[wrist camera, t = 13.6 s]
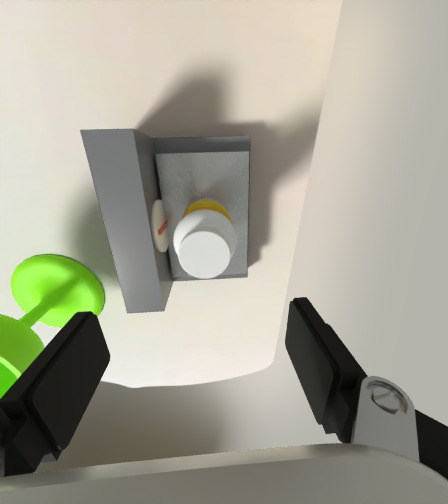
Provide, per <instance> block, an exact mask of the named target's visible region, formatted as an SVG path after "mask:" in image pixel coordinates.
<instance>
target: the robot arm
mask: <svg viewBox="0 0 448 504" xmlns="http://www.w3.org/2000/svg"><path fill="white" fill-rule="evenodd" d="M285 345H286V349H287V351H288V354H289V356H290V359H291V361H292V364H293V366H294V368H295V371H296V373H297V375H298V378H299V380H300V383H301V385H302V388H303V390H304V392H305V395H306V397H307V400H308V402H309V404H310V407H311V409H312V412H313V414H314V416H315V419H316V421H317V423H318V424H322V425H323V428H324V430H325V433H326V434H331V433H336V435H337V437H338V439H339V440H340V441H341V442H342V443H340V444H338V443H336V444H315V445H302V446H289V447H277V448H267V449H257V450H246V451H237V452H225V453H216V454H205V455H195V456H186V457H176V458H166V459H156V460H148V461H137V462H128V463H118V464H109V465H99V466H91V467H81V468H72V469H62V470H54V471H46V472H38V473H36V469H37V467H38V465H39V464H40V462H51V461H57V459H58V457H59V455H60V454H61V452H62V450H64V449H65V448H66V447H67V446H68V444H69V443H70V441H71V439H72V437H73V435H74V432H75V431H76V428H77V426H78V424H79V422H80V420H81V418H82V416H83V414H84V412H85V410H86V408H87V406H88V404H89V402H90V400H91V398H92V396H93V394H94V392H95V390H96V388H97V386H98V384H99V382H100V380H101V378H102V376H103V374H104V372H105V370H106V368H107V366H108V364H109V361H110V353H109V350H108V347H107V344H106V341H105V338H104V335H103V332H102V329H101V327H100V324H99V321H98V318H97V315H96V314H93V312H92V311H84V312H76V313H75V314H74V315H73V316H72V318H71V319H70V320H69V321H68V322H67V323H66V324H65V325H64V327H63V328H62V329H61V330H60V331H59V332H58V333H57V335H56V336H55V337H54V338H53V339H52V340H51V341H50V343H49V344H48V345H47V346H46V347H45V348H44V349H43V351H42V352H41V353H40V354H39V355H38V356H37V357H36V359H35V360H34V361H33V362H32V363H31V364H30V365H29V367H28V368H27V369H26V370H25V371H24V372H23V373H22V375H21V376H20V377H19V378H18V379H17V380H16V381H15V383H14V384H13V385H12V386H11V387H10V388H9V389H8V390H7V392H6V393H5V394H4V395H3V396H2V397H1V398H0V504H448V427H447V426H445V425H444V424H442V423H440V422H438V421H436V420H434V419H432V418H430V417H429V416H427V415H425V414H423V413H421V412H419V411H418V410H416V409H414V406H413V403H412V401H411V400H410V398H409V396H408V395H407V394H406V393H405V392H404V391H403V390H402V389H401V388H400V387H398V386H397V385H396V384H394V383H392V382H391V381H389V380H387V379H384V378H381V377H376V376H371V377H368V376H367V375H366V373H365V372H364V371H363V369H362V368H361V366H360V365H359V364H358V363H357V361H356V360H355V358H354V357H353V356H352V354H351V353H350V352H349V350H348V349H347V348H346V346H345V345H344V344H343V342H342V341H341V340H340V338H339V337H338V336H337V334H336V333H335V331H334V330H333V329H332V327H331V326H330V325H328V324H326V323H325V322H324V321H323V319H322V318H321V316H320V315H319V314H318V312H317V311H316V310H315V308H314V307H313V305H312V304H311V303H310V301H309V300H308V299H307V298H306V297H301V298H294V299H293V301H291V302H290V305H289V314H288V322H287V330H286V339H285Z"/></svg>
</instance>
